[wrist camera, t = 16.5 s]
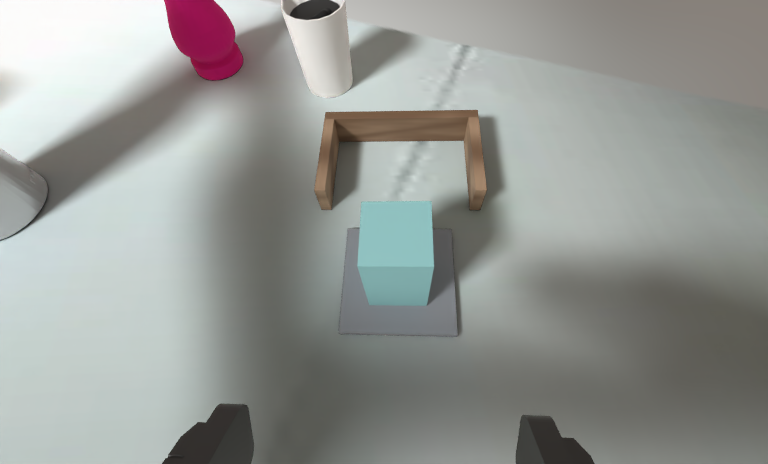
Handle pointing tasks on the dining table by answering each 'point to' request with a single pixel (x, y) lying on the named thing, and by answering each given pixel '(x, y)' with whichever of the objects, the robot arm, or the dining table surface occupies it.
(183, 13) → the pepper mill
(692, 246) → the dining table surface
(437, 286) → the slate mat
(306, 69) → the white paper cup
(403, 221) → the teal block
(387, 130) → the walnut cubby
